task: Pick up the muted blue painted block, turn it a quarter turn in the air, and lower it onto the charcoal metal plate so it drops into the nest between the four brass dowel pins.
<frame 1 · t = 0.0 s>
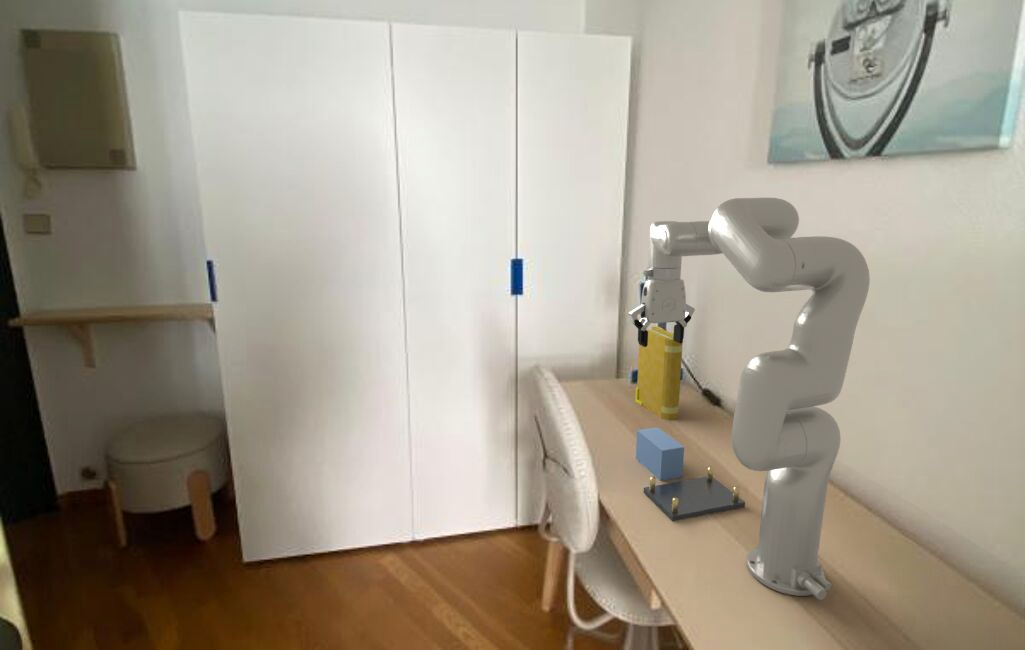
hand: (660, 343, 134), 31 cm above the table, fingers open, 9 cm apart
dowel plate: (692, 499, 123), on the table
book: (658, 409, 174), on the table
blue block: (658, 467, 138), on the table
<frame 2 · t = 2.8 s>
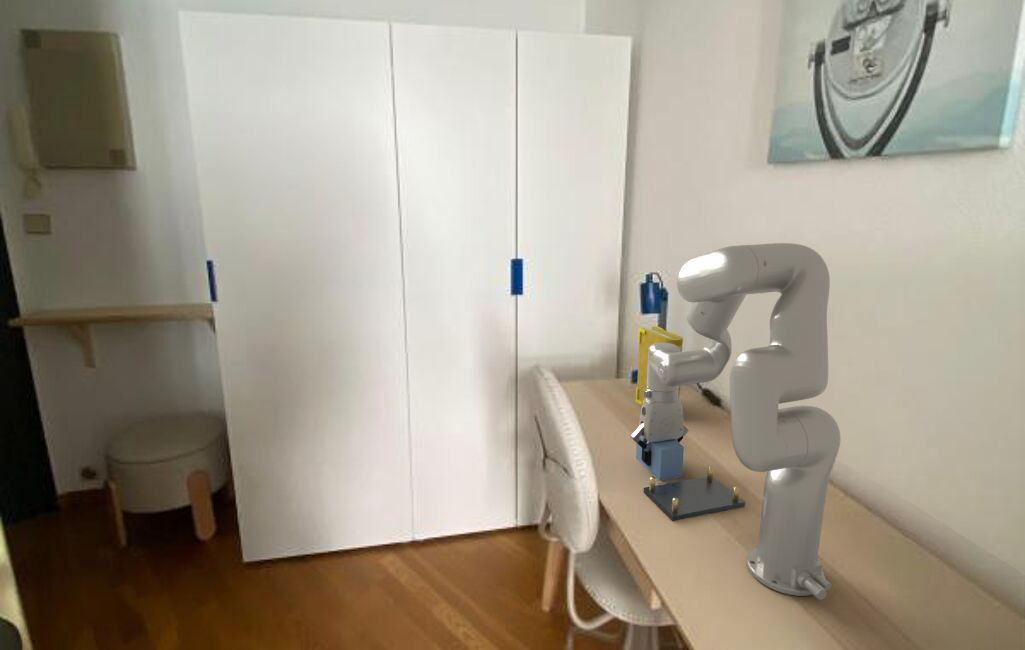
hand: (658, 460, 137), 2 cm above the table, fingers closed on blue block, 6 cm apart
blue block: (658, 467, 138), on the table, touching gripper
everything else where it was.
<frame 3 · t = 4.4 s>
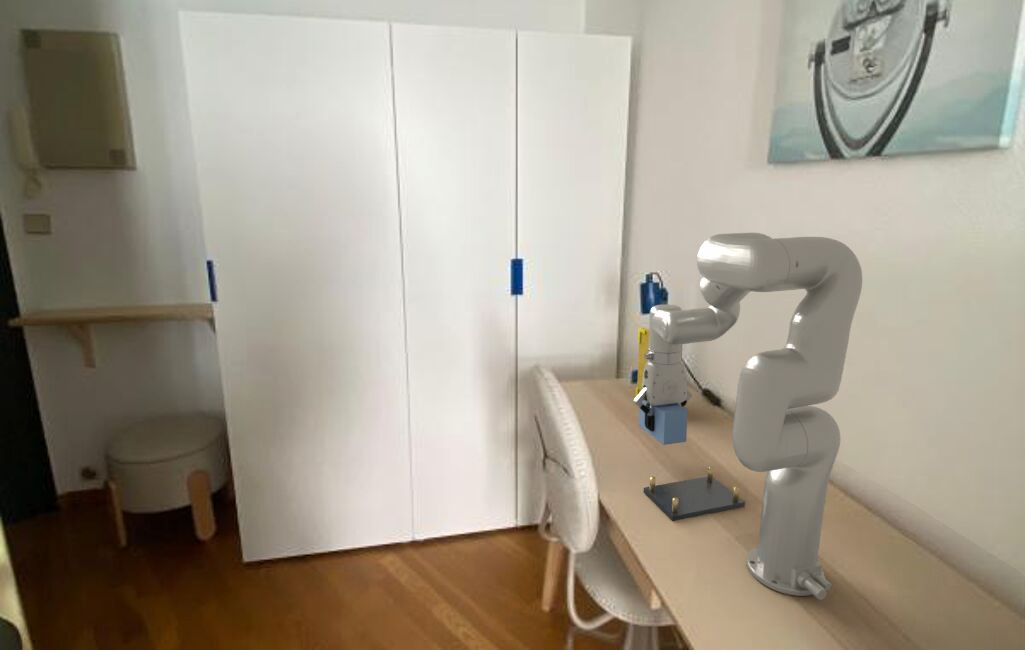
hand: (661, 426, 134), 11 cm above the table, fingers closed on blue block, 6 cm apart
blue block: (661, 433, 135), point 9 cm above the table, touching gripper
everything else where it was.
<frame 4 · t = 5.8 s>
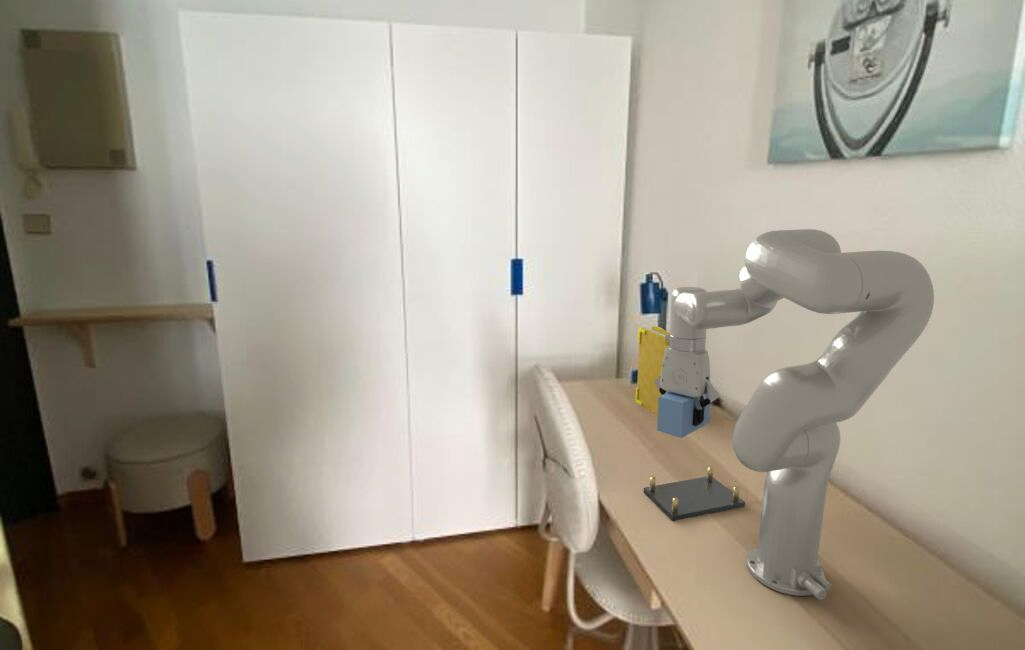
hand: (683, 419, 124), 17 cm above the table, fingers closed on blue block, 6 cm apart
blue block: (683, 426, 125), point 15 cm above the table, touching gripper
everything else where it was.
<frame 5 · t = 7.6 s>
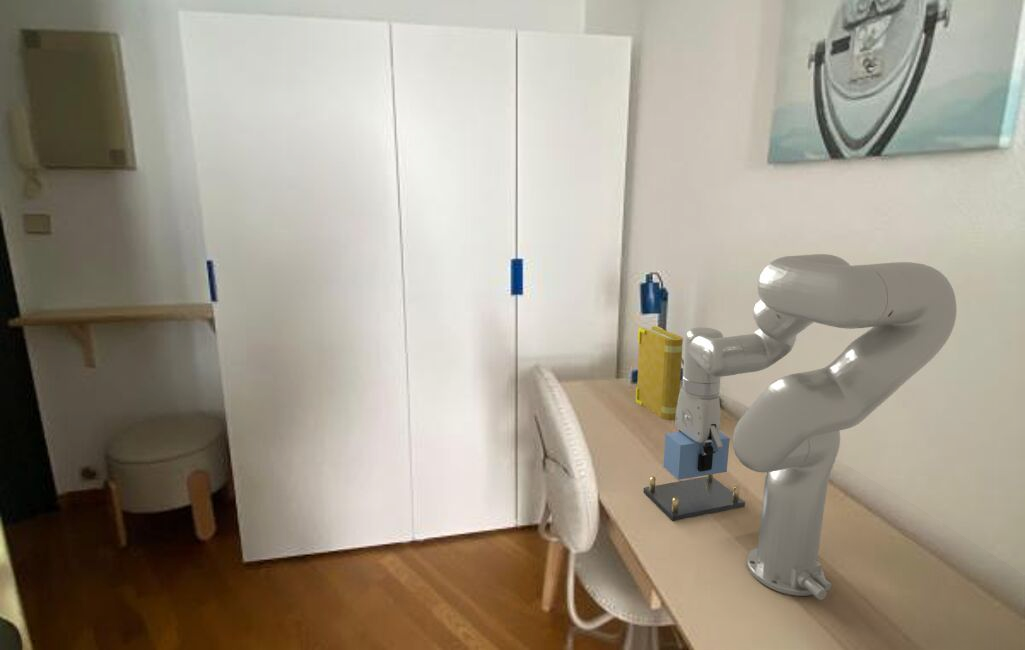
hand: (695, 462, 121), 9 cm above the table, fingers closed on blue block, 6 cm apart
blue block: (694, 469, 121), point 7 cm above the table, touching gripper
everything else where it was.
when the fingers open (4 cm above the table, at t = 9.1 s): blue block stays where it is, resting on dowel plate.
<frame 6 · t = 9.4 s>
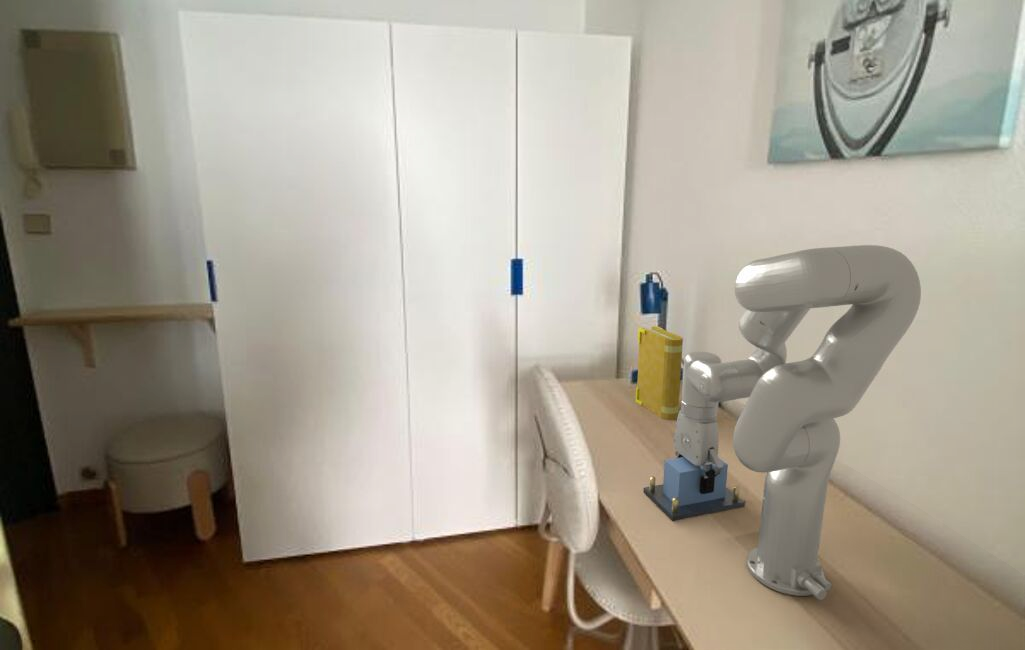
hand: (694, 482, 122), 4 cm above the table, fingers open, 8 cm apart
blue block: (693, 494, 123), point 1 cm above the table, touching dowel plate
everything else where it was.
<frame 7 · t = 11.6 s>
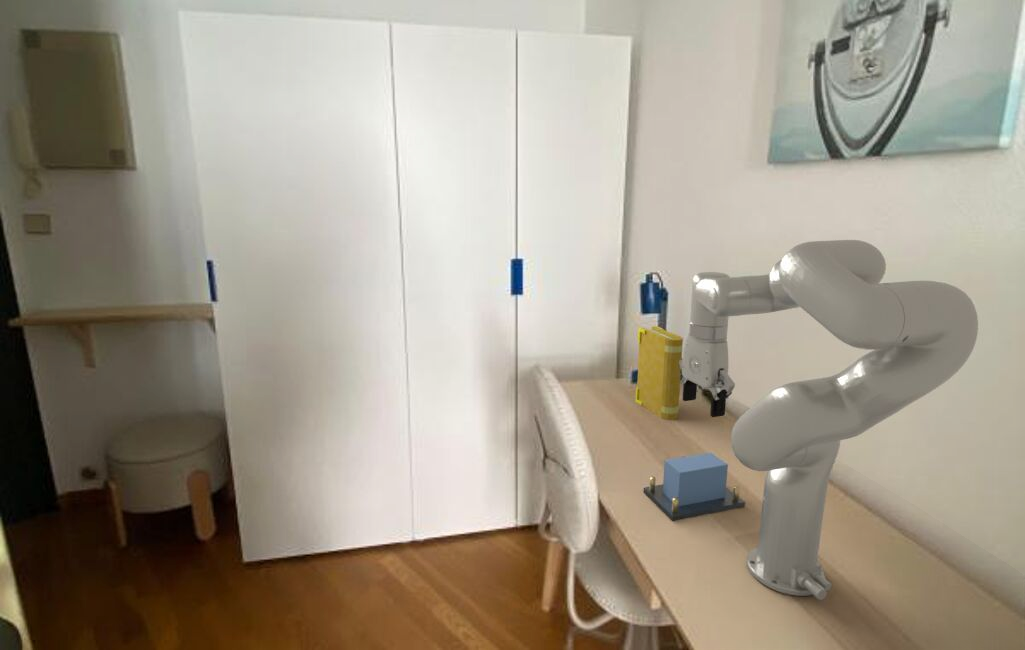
hand: (702, 407, 119), 21 cm above the table, fingers open, 9 cm apart
nothing on the table moved.
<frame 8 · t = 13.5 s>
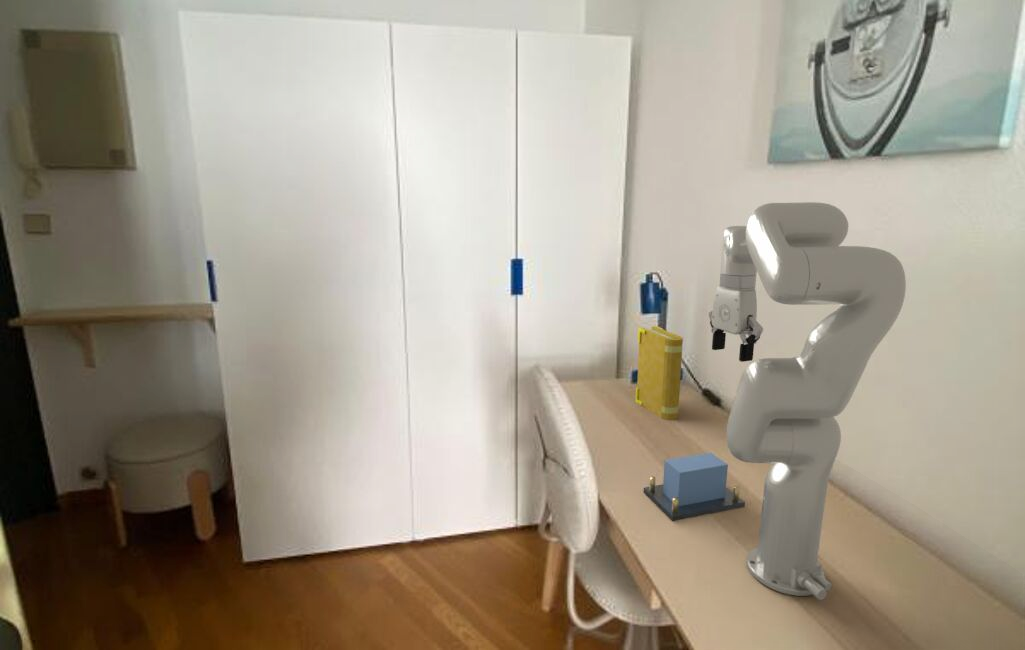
hand: (731, 354, 127), 30 cm above the table, fingers open, 9 cm apart
nothing on the table moved.
at the end: blue block 0.1 cm off-centre on the dowel plate, point 1.2 cm above the dowel plate's base; blue block tilted 0°; the gripper is holding nothing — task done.
